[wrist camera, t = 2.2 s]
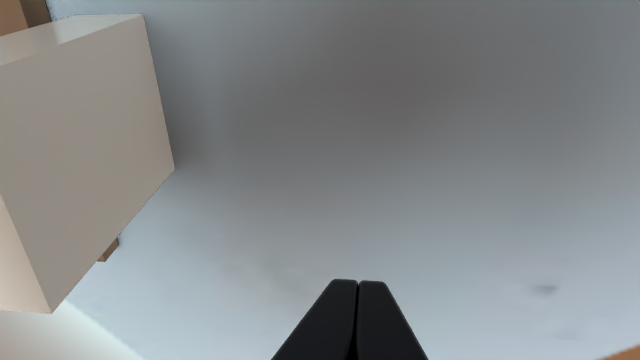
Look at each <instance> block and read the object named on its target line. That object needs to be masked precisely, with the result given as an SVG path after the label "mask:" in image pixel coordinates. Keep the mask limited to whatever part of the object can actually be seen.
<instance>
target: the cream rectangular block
mask: <svg viewBox="0 0 640 360" xmlns="http://www.w3.org/2000/svg"><path fill="white" fill-rule="evenodd" d="M174 170H175V166H174V161H173V156H172V151H171V147H170V142H169V137H168V132H167V127H166V122H165V118H164V113H163V108H162V103H161V98H160V94H159V89H158V84H157V79H156V74H155V69H154V65H153V60H152V55H151V50H150V45H149V41H148V36H147V31H146V26H145V21H144V17H143V14H117V15H74V16H70V17H67V18H63V19H60V20H56V21H53V22H49V23H46V24H42V25H39V26H35V27H32V28H28V29H25V30H21V31H18V32H14V33H11V34H7V35H4V36H1V37H0V310H7V311H21V312H35V313H50V314H52V313H53V312H54V311H55V309H56V308H57V307H58V306H59V304H60V303H61V302H62V301H63V300H64V299H65V298H66V296H67V295H68V294H69V293H70V292H71V291H72V289H73V288H74V287H75V286H76V285H77V284H78V282H79V281H80V280H81V279H82V278H83V276H84V275H85V274H86V273H87V272H88V271H89V269H90V268H91V267H92V266H93V265H94V264H95V262H96V261H97V260H98V259H99V258H100V257H101V255H102V254H103V253H104V252H105V251H106V249H107V248H108V247H109V246H110V245H111V244H112V242H113V241H114V240H115V239H116V238H117V237H118V235H119V234H120V233H121V232H122V231H123V230H124V228H125V227H126V226H127V225H128V224H129V222H130V221H131V220H132V219H133V218H134V217H135V215H136V214H137V213H138V212H139V211H140V210H141V208H142V207H143V206H144V205H145V204H146V203H147V201H148V200H149V199H150V198H151V197H152V196H153V194H154V193H155V192H156V191H157V190H158V188H159V187H160V186H161V185H162V184H163V183H164V181H165V180H166V179H167V178H168V177H169V176H170V174H171V173H172V172H173V171H174Z"/></svg>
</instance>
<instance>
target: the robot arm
mask: <svg viewBox="0 0 640 360" xmlns="http://www.w3.org/2000/svg"><path fill="white" fill-rule="evenodd" d="M271 360H428V358H427V356H426V354H425V352H424V351H423V349H422V347H421V345H420V344H419V342H418V340H417V338H416V336H415V335H414V333H413V331H412V329H411V328H410V326H409V324H408V322H407V320H406V319H405V317H404V315H403V313H402V311H401V310H400V308H399V306H398V304H397V303H396V301H395V299H394V297H393V295H392V294H391V292H390V290H389V288H388V287H387V285H386V284H385V283H384V282H382V281H365V280H363V281H361V282H360V283H359V286H358V282H357V281H356V280H347V279H334V280H332V281H331V282H330V283H329V285H328V286H327V287H326V289H325V290H324V291H323V292H322V294H321V295H320V296H319V298H318V299H317V300H316V302H315V303H314V304H313V306H312V307H311V308H310V309H309V311H308V312H307V313H306V315H305V316H304V317H303V319H302V320H301V321H300V323H299V324H298V325H297V326H296V328H295V329H294V330H293V332H292V333H291V334H290V336H289V337H288V338H287V340H286V341H285V342H284V343H283V345H282V346H281V347H280V349H279V350H278V351H277V353H276V354H275V355H274V357H273V358H272V359H271Z"/></svg>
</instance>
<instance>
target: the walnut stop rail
mask: <svg viewBox="0 0 640 360" xmlns="http://www.w3.org/2000/svg"><path fill="white" fill-rule="evenodd" d="M49 22H51V19H50V16H49V13H48V9H47V6H46V3H45V0H0V37H1V36H4V35H7V34H11V33H14V32H18V31H21V30H25V29H28V28H32V27H35V26H39V25H42V24H46V23H49ZM118 245H119V244H118V241H117V238H116V239H115V240H114V241H113V242H112V244H111V245H110V246H109V247H108V248H107V249H106V251H105V252H104V253H103V254H102V255H101V257H100V258H99V259H98V260H97V261H100V262H105V261H106V260H107V259H108V257H109V256H110V255H111V254H112V253H113V251H114V250H115V249H116V248H117V247H118Z"/></svg>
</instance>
